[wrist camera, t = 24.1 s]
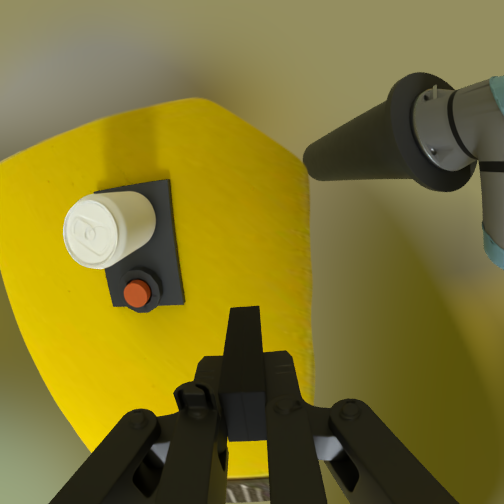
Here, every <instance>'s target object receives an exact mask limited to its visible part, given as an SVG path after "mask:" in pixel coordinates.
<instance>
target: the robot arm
mask: <svg viewBox="0 0 504 504" xmlns="http://www.w3.org/2000/svg"><path fill="white" fill-rule="evenodd" d="M409 121H410V128H411V132H412V136H413V139H414V141H415V144H416V146H417V148H418V149H419V151H420V153H421V154H422V155H423V157H424V158H425V159H426V160H427V161H428V162H429V163H430V164H431V165H432V166H434V167H435V168H437V169H439V170H442V171H457V170H460V169H462V168H464V167H465V166H467V165H469V164H471V163H472V162H474V161H476V160H478V161H479V167H480V178H481V189H482V207H483V221H482V229H483V235H484V250H485V252H486V254H487V255H488V257H489V258H490V260H491V261H492V262H493V263H494V264H496V265H497V266H498V267H500V268H502V269H503V270H504V76H500V77H498V76H494V77H491V78H490V79H488V80H485V81H482V82H479V83H476V84H473V85H470V86H467V87H464V88H461V89H459V90H455V91H454V90H445V89H437V85H435V86H433V89H428V90H426V91H423V92H421V93H419V94H418V95H417V96H416V97H415V98H414V100H413V102H412V104H411V107H410V114H409ZM173 394H174V397H175V400H176V403H177V406H178V408H179V412H176V413H174V414H170V415H165V416H159V417H156V415H155V414H154V413H153V412H152V411H150V410H148V409H134V410H132V411H130V412H128V413H126V414H125V415H124V416H123V417H122V418H121V419H120V421H119V422H118V423H117V424H116V425H115V427H114V428H113V429H112V430H111V431H110V432H109V434H108V435H107V436H106V437H105V438H104V440H103V441H102V442H101V443H100V444H99V445H98V447H97V448H96V449H95V450H94V451H93V452H92V454H91V455H90V456H89V457H88V458H87V460H86V461H85V462H84V463H83V464H82V465H81V467H80V468H79V469H78V470H77V471H76V472H75V474H74V475H73V476H72V477H71V478H70V479H69V481H68V482H67V483H66V484H65V485H64V486H63V488H62V489H61V490H60V491H59V492H58V493H57V495H56V496H55V497H54V498H53V499H52V500H51V501H50V503H49V504H225V503H226V487H227V471H228V456H229V452H228V447H227V436H228V440H229V442H235V441H260V440H267V451H268V468H269V486H270V504H327V499H326V494H325V489H324V485H323V480H322V475H321V471H320V466H319V461H318V460H324V462H325V464H326V465H327V467H328V469H329V470H330V472H331V474H332V475H333V477H334V478H335V480H336V482H337V483H338V485H339V486H340V488H341V490H342V491H343V493H344V494H345V496H346V498H347V499H348V500H349V502H350V504H459V503H458V502H457V501H456V500H455V499H454V498H453V497H452V496H451V495H450V494H449V493H448V491H447V490H446V489H445V488H444V487H443V486H442V485H441V484H440V483H439V482H438V481H437V480H436V479H435V478H434V477H433V476H432V475H431V473H430V472H429V471H428V470H427V469H426V468H425V467H424V466H423V465H422V464H421V463H420V462H419V461H418V460H417V459H416V457H415V456H414V455H413V454H412V453H411V452H410V451H409V450H408V449H407V448H406V447H405V446H404V445H403V443H402V442H401V441H400V440H399V439H398V438H397V437H396V436H395V435H394V434H393V433H392V432H391V430H390V429H389V428H388V427H387V426H386V425H385V424H384V423H383V422H382V421H381V419H380V418H379V417H378V416H377V415H376V414H375V413H374V412H373V411H372V410H371V408H370V407H369V406H368V405H366V404H365V403H364V402H363V401H360V400H357V399H344V400H340V401H338V402H337V403H335V404H334V405H333V406H332V407H331V408H320V407H315V406H312V405H310V404H308V403H306V402H305V401H304V400H303V399H302V396H301V393H300V389H299V385H298V380H297V376H296V372H295V367H294V363H293V358H292V356H291V355H290V354H289V353H288V352H287V351H286V350H285V351H275V352H263V347H262V334H261V321H260V309H259V306H249V307H235V308H230V314H229V320H228V327H227V333H226V340H225V347H224V353H223V356H204V358H203V359H202V360H201V361H200V362H199V363H198V366H197V370H196V373H195V379H194V381H192V382H187V383H184V384H182V385H180V386H179V387H177V388H176V390H175V391H174V393H173Z"/></svg>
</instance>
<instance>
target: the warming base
mask: <svg viewBox="0 0 504 504" xmlns="http://www.w3.org/2000/svg"><path fill="white" fill-rule="evenodd" d="M124 191H133V192H137V193H140V194H142V195H143V196H144V197H146V198H147V199H148V200H149V202H150V203H151V205H152V207H153V209H154V212H155V216H156V225H155V230H154V233H153V235H152V237H151V238H150V240H149V241H148V242H147V243H146V244H144V245H143V246H141V247H140V248H138V249H137V250H135V251H134V252H132V253H130V254H129V255H127V256H126V257H124V258H123V259H121V260H120V261H118V262H116V263H115V264H113V265H112V266H110V267H107V268H105V273H106V278H107V282H108V287H109V291H110V295H111V300H112V304H113V307H125V306H127V307H128V308H130V309H132V310H134V311H136V312H138V313H145V312H150V311H151V310H153V309H154V308H156V307H157V306H161V305H184V303H185V297H184V291H183V285H182V278H181V272H180V265H179V258H178V251H177V243H176V235H175V226H174V218H173V208H172V198H171V187H170V180H169V179H166V180H159V181H152V182H146V183H140V184H134V185H128V186H122V187H116V188H111V189H106V190H101V191H96V192H94V194H99V193H111V192H124ZM136 279H139V280H142V281H144V282H145V283H147V285H148V286H149V288H150V291H151V295H150V298H149V300H148V301H147V302H146V303H145V305H144V306H142V307H133V306H131V305H130V304H128V303H127V301H126V300H125V297H124V289H125V287H126V286H127V285H128V284H129V283H130V282H131V281H133V280H136Z"/></svg>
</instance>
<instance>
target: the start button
mask: <svg viewBox="0 0 504 504" xmlns="http://www.w3.org/2000/svg"><path fill="white" fill-rule="evenodd" d="M150 295H151V291H150V288H149V286H148V285H147V283H145V282H144V281H142V280H139V279H136V280H133V281H131V282H130V283H129V284H128V285H127V286H126V287H125V289H124V297H125V300H126V301H127V303H128V304H130V305H131V306H133V307H142V306H144V305H145V303H146V302H147V301H148V300H149V298H150Z"/></svg>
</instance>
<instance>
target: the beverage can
mask: <svg viewBox="0 0 504 504" xmlns="http://www.w3.org/2000/svg"><path fill="white" fill-rule="evenodd" d="M155 225H156V216H155V212H154V209H153V207H152V205H151V203H150V202H149V200H148V199H147V198H146V197H144V196H143V195H142V194H140V193H137V192H133V191H124V192H111V193H99V194H91V195H87V196H85V197H83V198H81V199H80V200H78V201H77V202H76V203H75V204H74V205H73V206H72V207H71V209H70V210H69V211H68V213H67V215H66V218H65V221H64V226H63V237H64V242H65V245H66V248H67V250H68V252H69V254H70V255H71V256H72V258H73V259H74V260H75V261H76V262H78V263H79V264H80V265H82V266H85V267H88V268H95V269H103V268H107V267H110V266H112V265H113V264H115V263H116V262H118V261H120V260H121V259H123V258H124V257H126V256H127V255H129V254H130V253H132V252H134V251H135V250H137V249H138V248H140V247H141V246H143V245H144V244H146V243H147V242H148V241H149V240H150V238H151V237H152V235H153V233H154V230H155Z"/></svg>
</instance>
